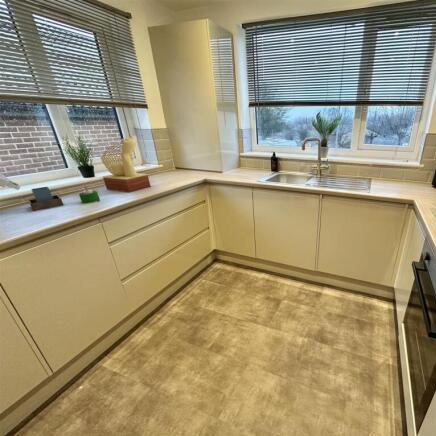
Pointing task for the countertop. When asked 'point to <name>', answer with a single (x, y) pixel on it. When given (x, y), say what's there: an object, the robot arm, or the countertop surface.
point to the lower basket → (46, 203)
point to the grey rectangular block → (42, 194)
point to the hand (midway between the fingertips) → (18, 187)
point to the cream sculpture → (123, 169)
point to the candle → (89, 196)
